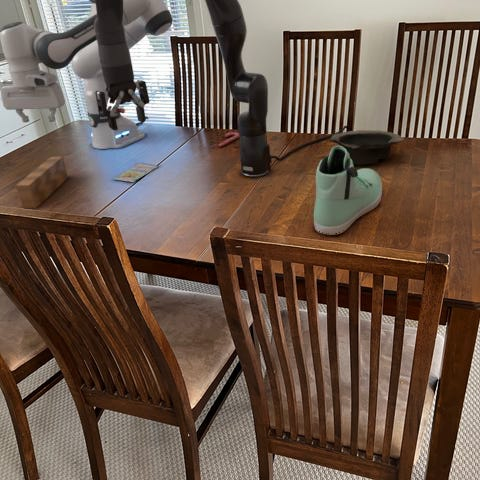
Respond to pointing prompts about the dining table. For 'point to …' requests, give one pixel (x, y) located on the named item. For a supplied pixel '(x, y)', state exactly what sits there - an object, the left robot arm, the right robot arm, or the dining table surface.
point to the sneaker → (343, 192)
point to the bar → (42, 182)
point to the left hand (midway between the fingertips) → (39, 121)
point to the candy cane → (235, 136)
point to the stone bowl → (367, 145)
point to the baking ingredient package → (135, 172)
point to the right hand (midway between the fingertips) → (128, 125)
